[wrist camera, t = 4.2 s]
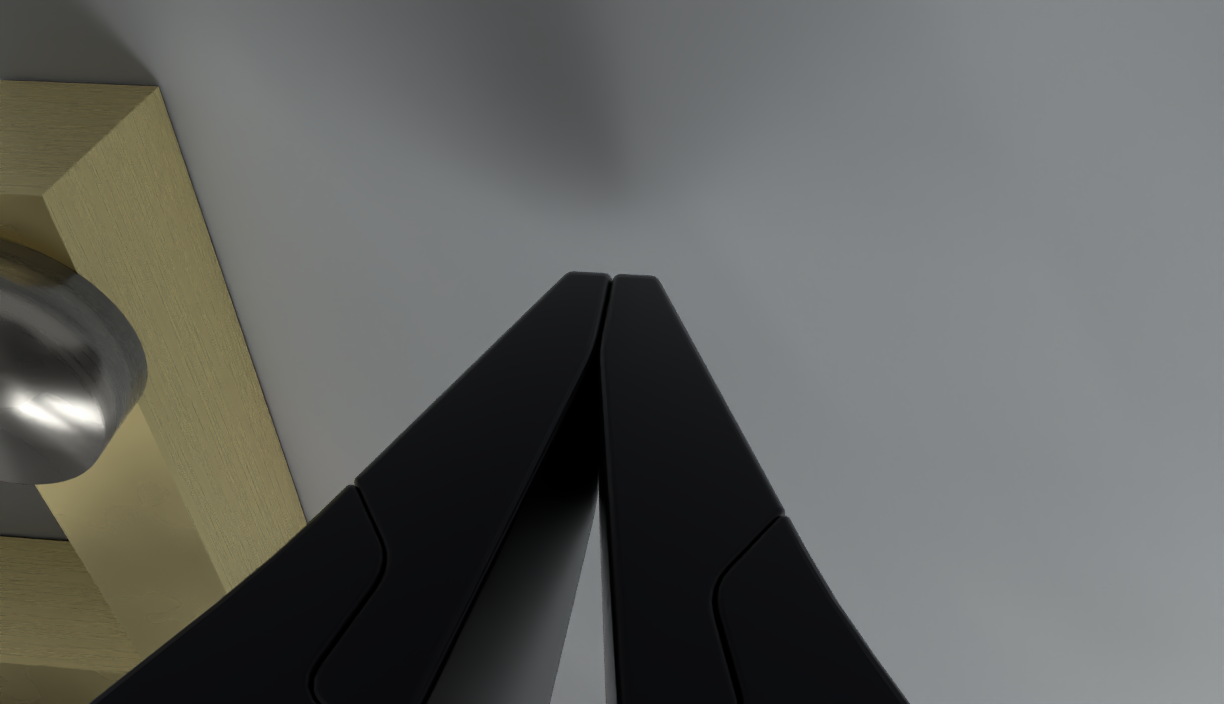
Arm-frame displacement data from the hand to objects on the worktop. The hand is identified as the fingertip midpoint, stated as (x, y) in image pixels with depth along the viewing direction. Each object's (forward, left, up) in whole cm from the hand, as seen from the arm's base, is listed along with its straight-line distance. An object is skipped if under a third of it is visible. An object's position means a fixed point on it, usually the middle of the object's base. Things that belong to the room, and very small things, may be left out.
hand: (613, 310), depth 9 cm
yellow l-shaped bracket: (+9, +3, -1) cm, 9 cm away
